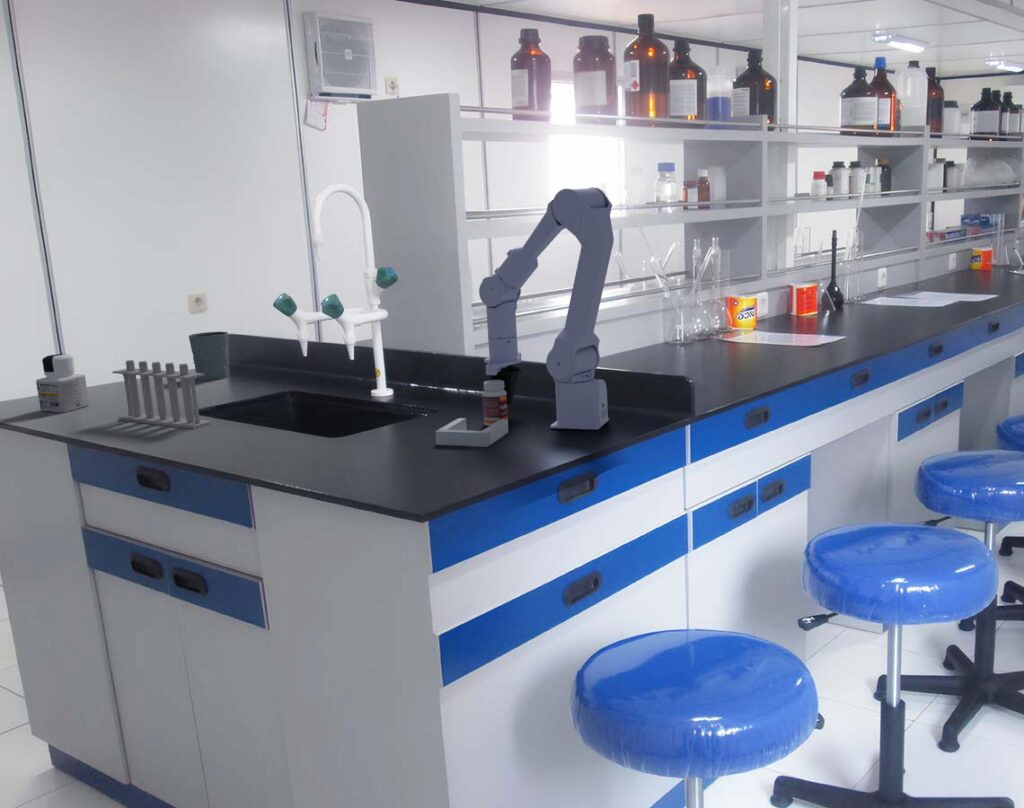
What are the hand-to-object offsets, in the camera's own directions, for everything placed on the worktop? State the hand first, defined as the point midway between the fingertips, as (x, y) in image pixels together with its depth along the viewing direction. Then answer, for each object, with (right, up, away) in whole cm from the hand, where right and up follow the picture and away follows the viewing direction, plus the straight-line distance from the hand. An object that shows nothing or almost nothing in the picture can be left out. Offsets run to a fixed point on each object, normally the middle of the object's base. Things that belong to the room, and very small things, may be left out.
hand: (506, 404), depth 190 cm
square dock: (-6, -6, -15) cm, 17 cm away
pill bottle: (-2, -4, -5) cm, 7 cm away
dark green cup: (-80, +7, +68) cm, 105 cm away
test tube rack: (-74, -4, +14) cm, 76 cm away
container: (-105, -1, +35) cm, 111 cm away
